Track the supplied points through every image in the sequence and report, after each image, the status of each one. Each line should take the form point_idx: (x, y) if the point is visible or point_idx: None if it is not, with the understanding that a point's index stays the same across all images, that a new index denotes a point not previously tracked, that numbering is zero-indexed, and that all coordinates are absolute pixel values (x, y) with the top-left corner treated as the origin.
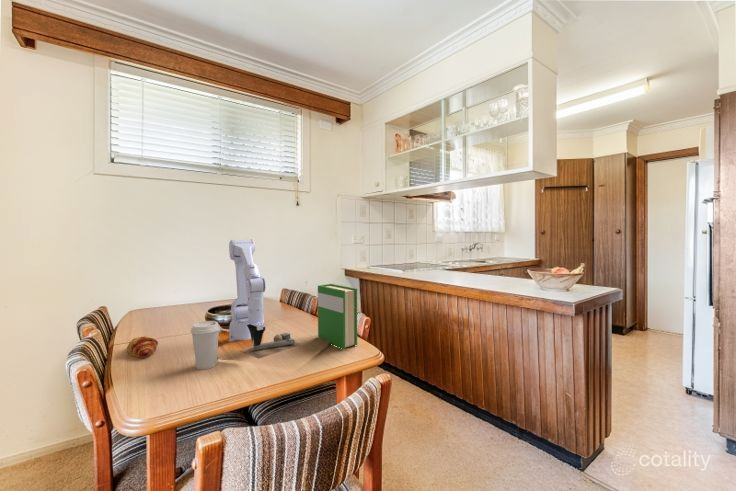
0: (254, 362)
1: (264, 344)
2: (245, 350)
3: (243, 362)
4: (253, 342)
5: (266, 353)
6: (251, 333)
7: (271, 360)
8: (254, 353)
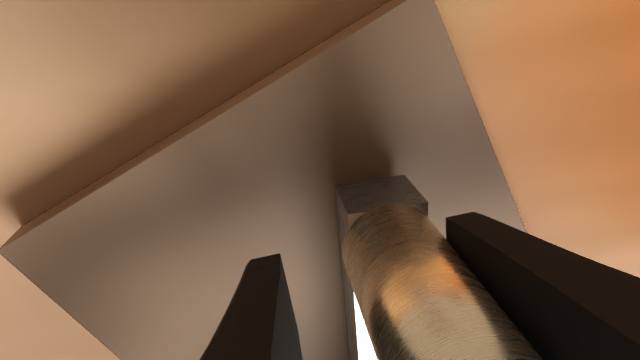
0: (4, 176)
1: (364, 354)
2: (422, 59)
3: (27, 21)
4: (382, 246)
5: (185, 329)
6: (588, 332)
7: (47, 351)
8: (232, 191)
